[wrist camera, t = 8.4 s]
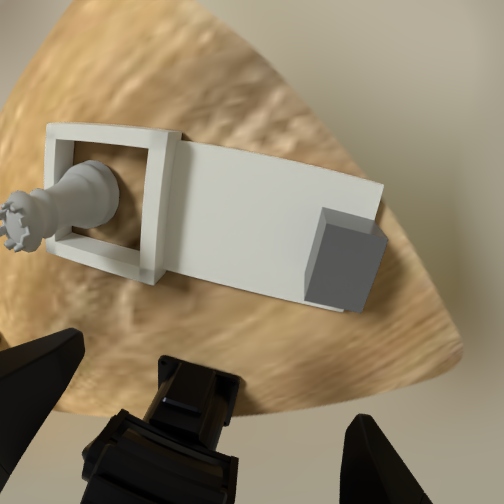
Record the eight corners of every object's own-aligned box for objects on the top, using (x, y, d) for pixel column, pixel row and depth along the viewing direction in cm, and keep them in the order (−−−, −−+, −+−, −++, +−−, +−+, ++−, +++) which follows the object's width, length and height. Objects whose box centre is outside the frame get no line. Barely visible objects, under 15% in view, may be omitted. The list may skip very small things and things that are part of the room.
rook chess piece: (102, 236, 20) (24, 287, 13) (64, 193, 20) (-20, 227, 12) (135, 189, 19) (49, 228, 11) (92, 145, 18) (0, 163, 11)
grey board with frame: (339, 314, 19) (344, 351, 16) (62, 242, 21) (30, 261, 17) (383, 175, 16) (404, 186, 12) (66, 121, 17) (27, 125, 14)
